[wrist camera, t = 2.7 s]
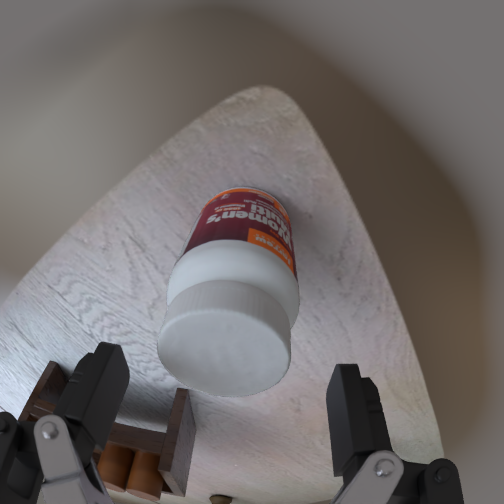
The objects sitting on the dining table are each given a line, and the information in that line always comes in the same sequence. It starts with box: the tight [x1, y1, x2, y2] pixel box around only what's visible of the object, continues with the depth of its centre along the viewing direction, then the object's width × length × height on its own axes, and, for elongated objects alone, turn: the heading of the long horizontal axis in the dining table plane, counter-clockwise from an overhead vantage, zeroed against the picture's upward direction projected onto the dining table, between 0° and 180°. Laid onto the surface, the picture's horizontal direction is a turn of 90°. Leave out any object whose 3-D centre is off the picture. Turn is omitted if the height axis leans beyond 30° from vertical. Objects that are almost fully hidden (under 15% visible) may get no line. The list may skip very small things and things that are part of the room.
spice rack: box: [18, 361, 196, 501], centre depth 28 cm, size 10×18×12 cm, turn 87°
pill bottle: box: [157, 187, 300, 397], centre depth 16 cm, size 6×6×11 cm
